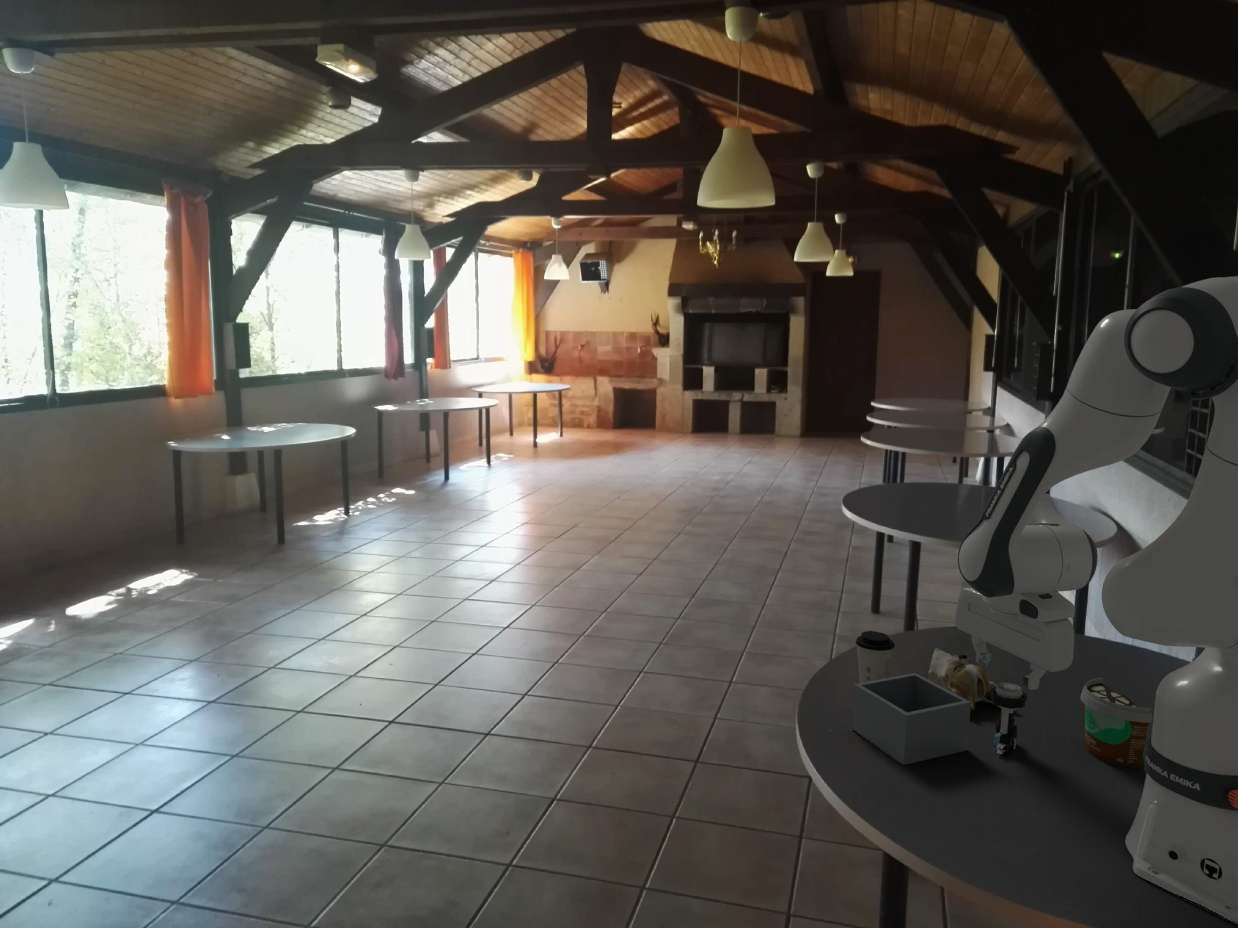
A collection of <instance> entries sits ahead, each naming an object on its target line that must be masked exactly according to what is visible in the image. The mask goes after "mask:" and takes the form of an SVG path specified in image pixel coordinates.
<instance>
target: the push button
mask: <svg viewBox="0 0 1238 928" xmlns="http://www.w3.org/2000/svg"><path fill="white" fill-rule="evenodd" d="M996 685H997V687H994V688H992V689H991V690H990V694H991V695H992V701H991V702H992V703H993V704H994V705H996V706H997V707H998V708H1000V717H999V718H998V721H997V722H995V732H996V734H995V735H994V738H993V739H994V741H993V745H995V751H996V754H999V755H1003V754H1008V753H1009V751H1010V750H1011V748H1012V746H1013V750H1015V749H1016V747H1017V740H1018V726H1017V725H1016V724H1015V718H1014V715H1015V710H1019V709H1022V708H1025V706H1026V701H1027V700H1028V694H1027V693H1025V692H1024V691H1023V690H1022V687H1020V686H1019V685H1017V684H1013V683H1010V682H999V683H997V684H996Z"/></svg>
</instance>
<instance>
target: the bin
mask: <svg viewBox="0 0 1238 928" xmlns="http://www.w3.org/2000/svg"><path fill="white" fill-rule="evenodd" d="M852 699H853V701H852V720H851V721H852V722H851V724H852V725H851V729H852V728H853V729H854V730H855V731H857V732H858V733H859V734H861V735H862V736H863V737H865V738H866V739H867V740H869V741H870V742H871V743H870V742H869V741H868V742H869V743H870V744H872V743H873V744H874V745H873V744H872V745H873V746H875V745H876V746H875V747H877V749H879V748H880V749H879V750H880V751H882V750H883V751H882V752H884V753H885V754H887V755H888V756H890V757H891V758H892V759H894V760H895V761H897V762H898V763H900V764H902V765H903V766H904V765H905V766H906V765H909V764H914V763H918V762H923V761H927V760H931V759H936V758H939V757H944V756H945V757H946V756H948V755H949V756H950V755H953V754H957V753H962V752H966V751H968V750H969V738H970V737H969V735H970V724H971V723H970V722H971V721H970V720H971V711H970V710H971V702H970V701H968V700H966V699H964V698H962V697H960V696H958V695H956V694H955V693H953V692H951V691H949V690H947V689H945V688H943V687H941V686H939V685H937V684H936V683H934V682H932V681H930V680H928V678H926V677H924V676H922V675H921V674H918V673H917V672H911V673H908V674H902V675H896V676H892V677H891V676H890V677H888V678H885V679H879V680H874V681H868V682H863V683H860V682H858V683H854V684H853V698H852ZM863 737H862V738H863ZM866 739H865V740H866ZM867 740H866V741H867Z"/></svg>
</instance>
